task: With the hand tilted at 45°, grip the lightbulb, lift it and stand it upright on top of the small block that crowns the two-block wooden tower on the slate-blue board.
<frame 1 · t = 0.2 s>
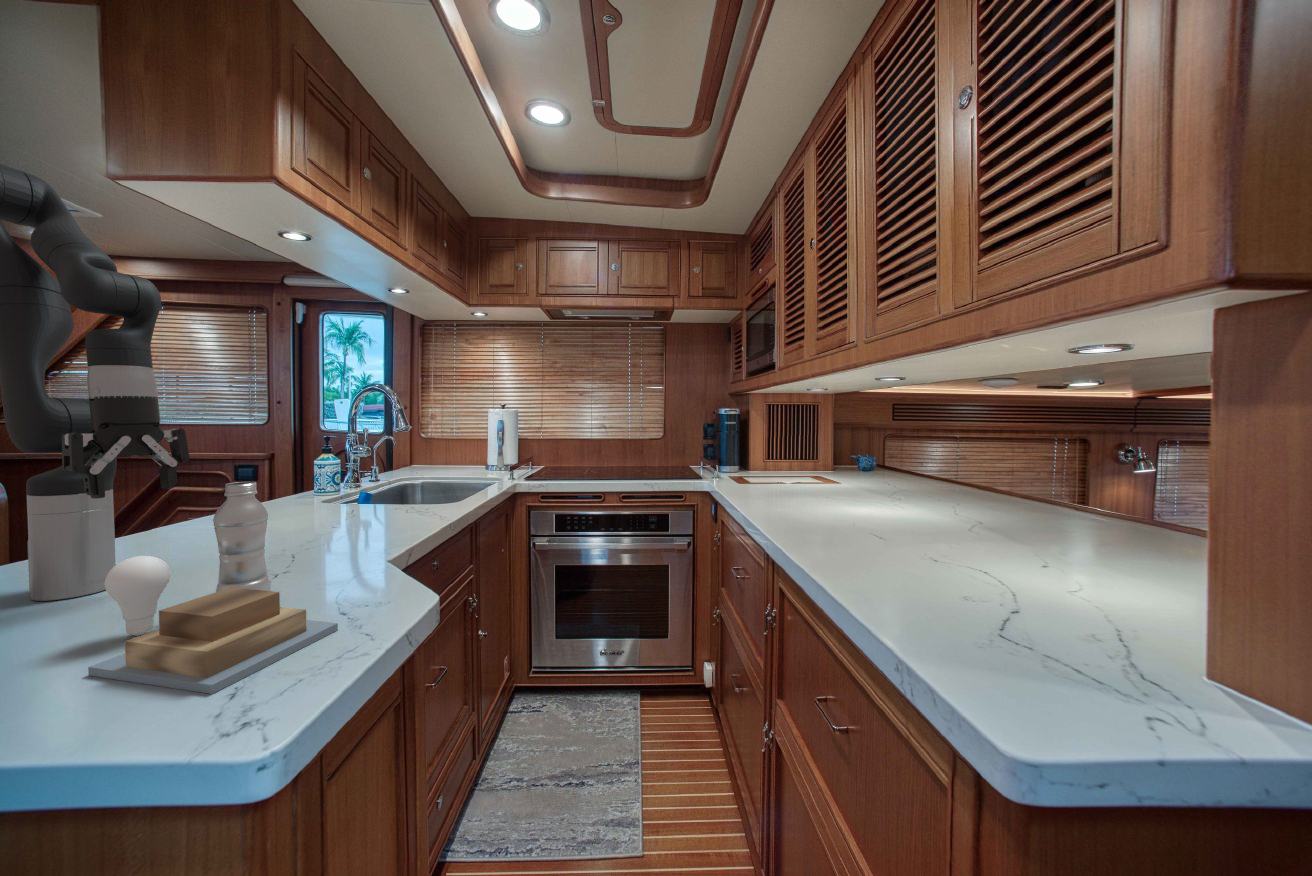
hand: (134, 493, 77), 18 cm above the countertop, tool pointing down, fingers open, 8 cm apart
lightbulb: (140, 636, 65), on the countertop
block tower: (223, 655, 59), resting on slate board
slate board: (225, 650, 61), on the countertop
plastic bottle: (243, 610, 74), on the countertop
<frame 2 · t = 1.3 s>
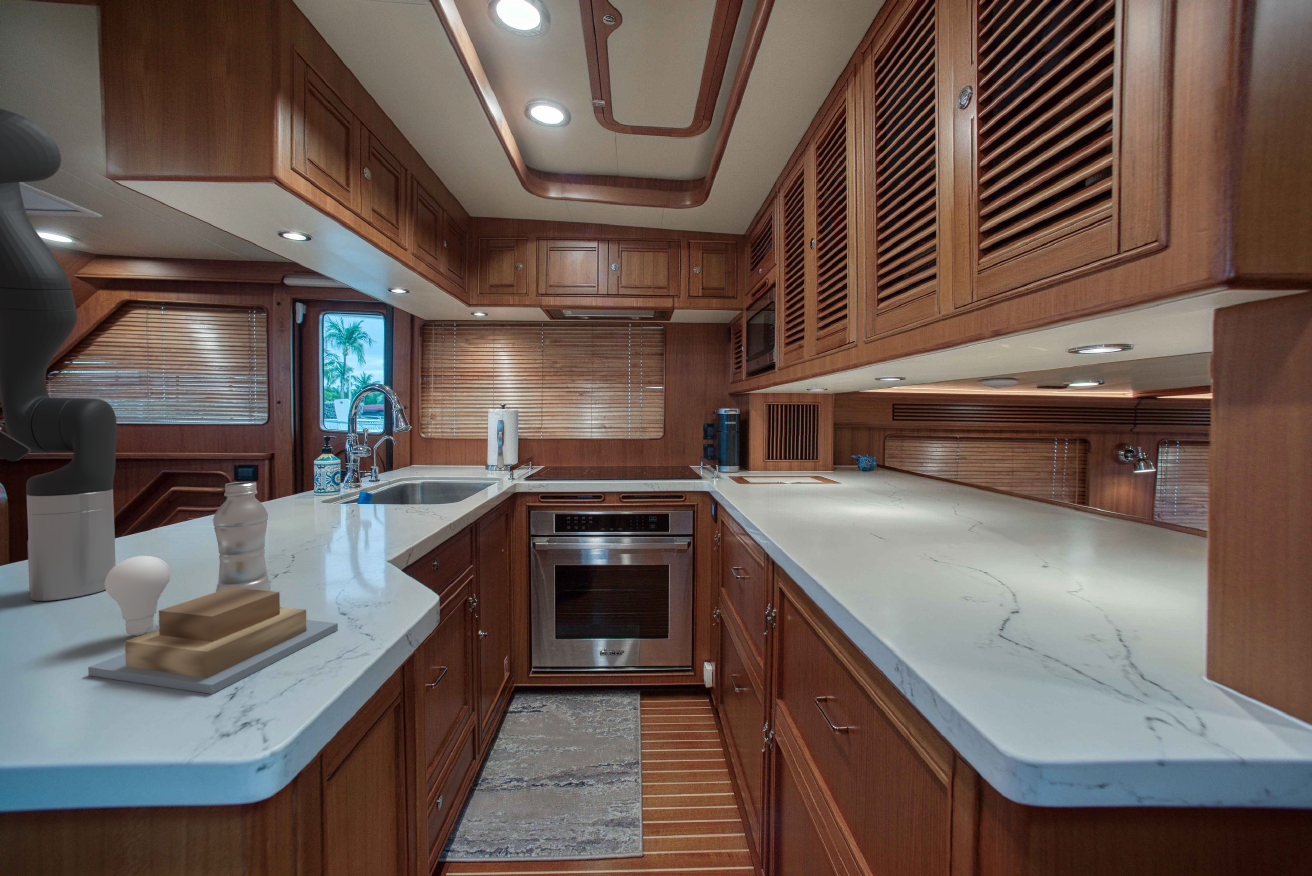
hand: (4, 458, 58), 25 cm above the countertop, tool tilted 45°, fingers open, 8 cm apart
nothing on the countertop moved.
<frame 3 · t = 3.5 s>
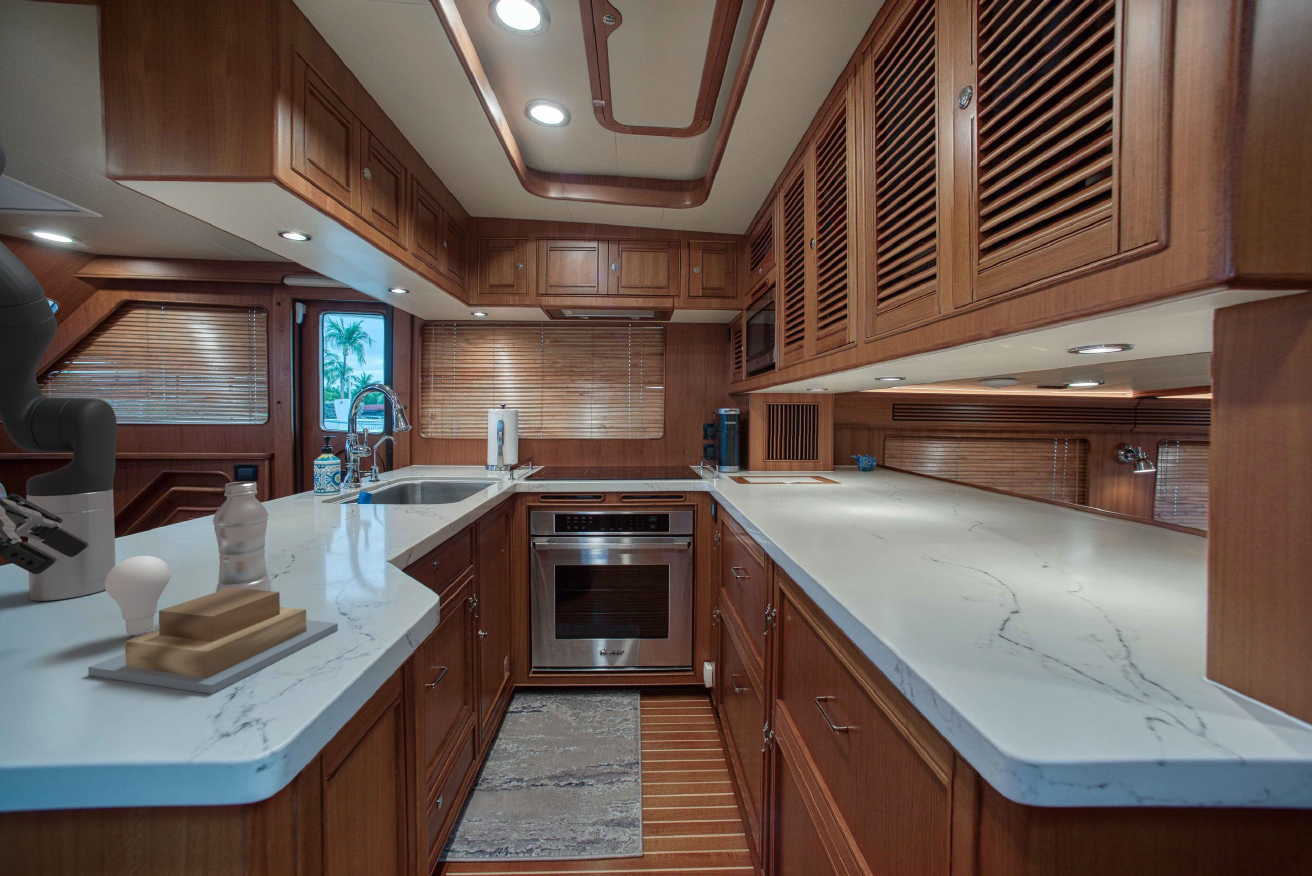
hand: (65, 559, 60), 12 cm above the countertop, tool tilted 45°, fingers open, 8 cm apart
nothing on the countertop moved.
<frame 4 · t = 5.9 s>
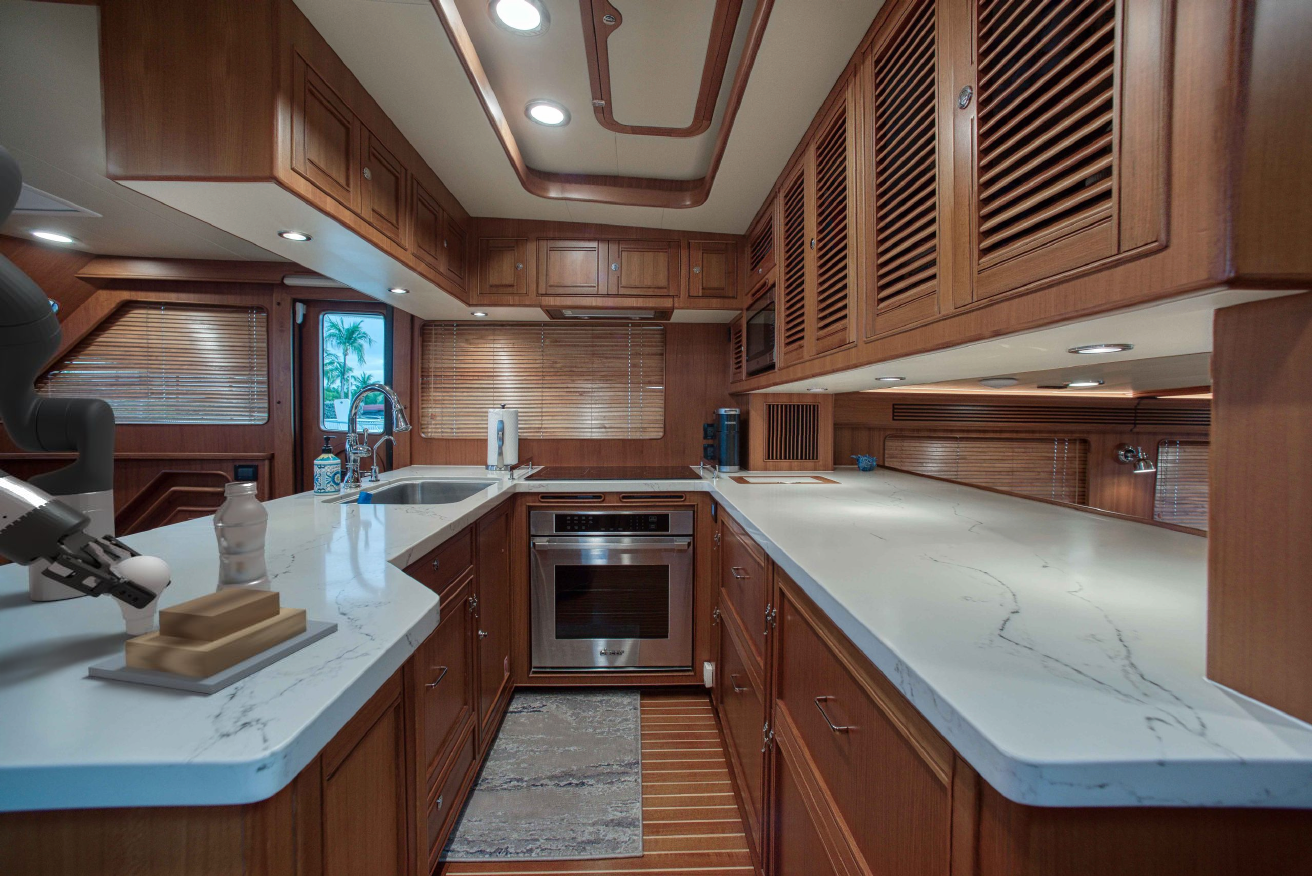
hand: (157, 594, 65), 5 cm above the countertop, tool tilted 45°, fingers closed on lightbulb, 5 cm apart
lightbulb: (140, 636, 65), on the countertop, touching gripper
everything else where it was.
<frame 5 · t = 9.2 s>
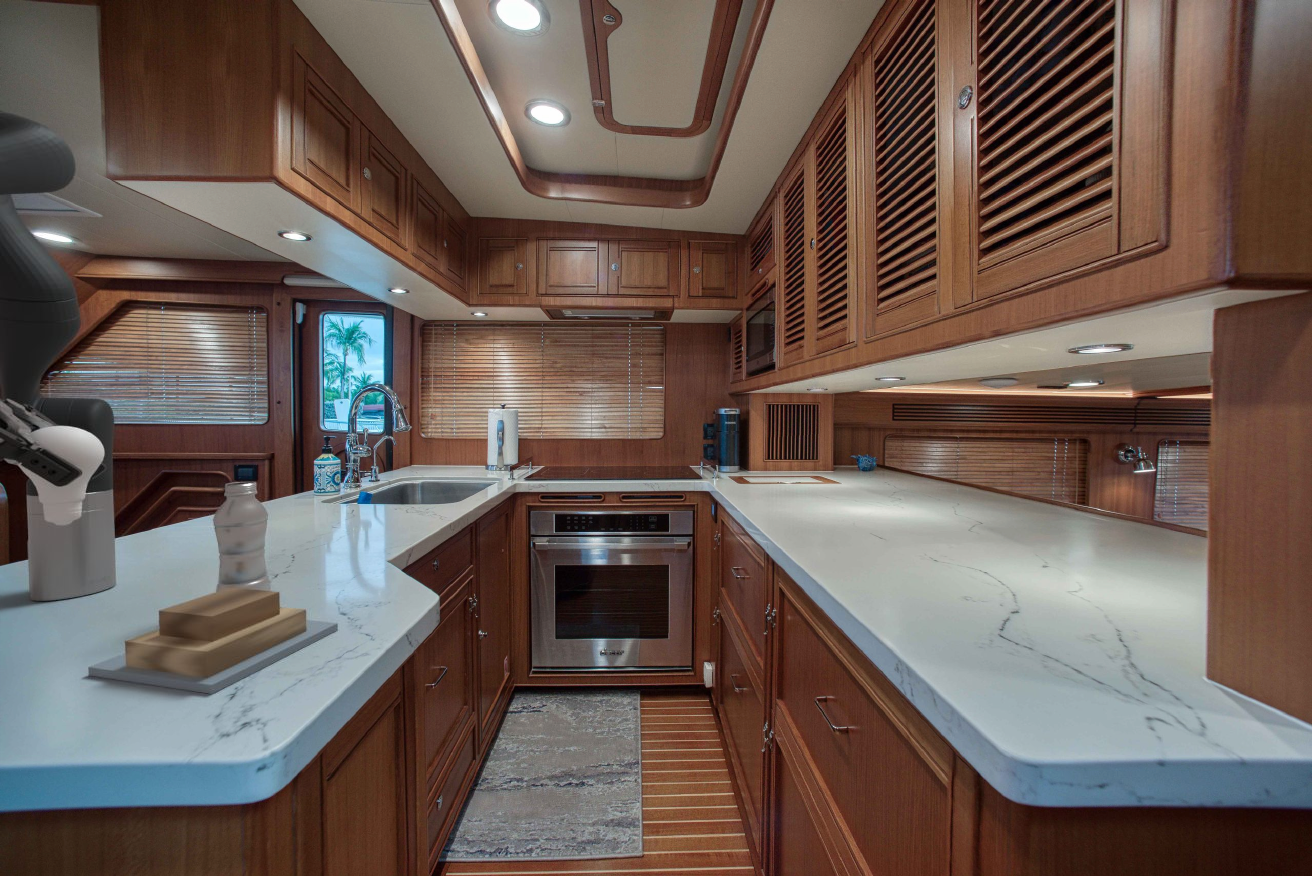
hand: (86, 476, 52), 23 cm above the countertop, tool tilted 45°, fingers closed on lightbulb, 5 cm apart
lightbulb: (63, 526, 52), point 18 cm above the countertop, touching gripper
everything else where it was.
when the fingers open (14 cm above the countertop, at t = 12.6 s): lightbulb drops 1 cm, resting on block tower.
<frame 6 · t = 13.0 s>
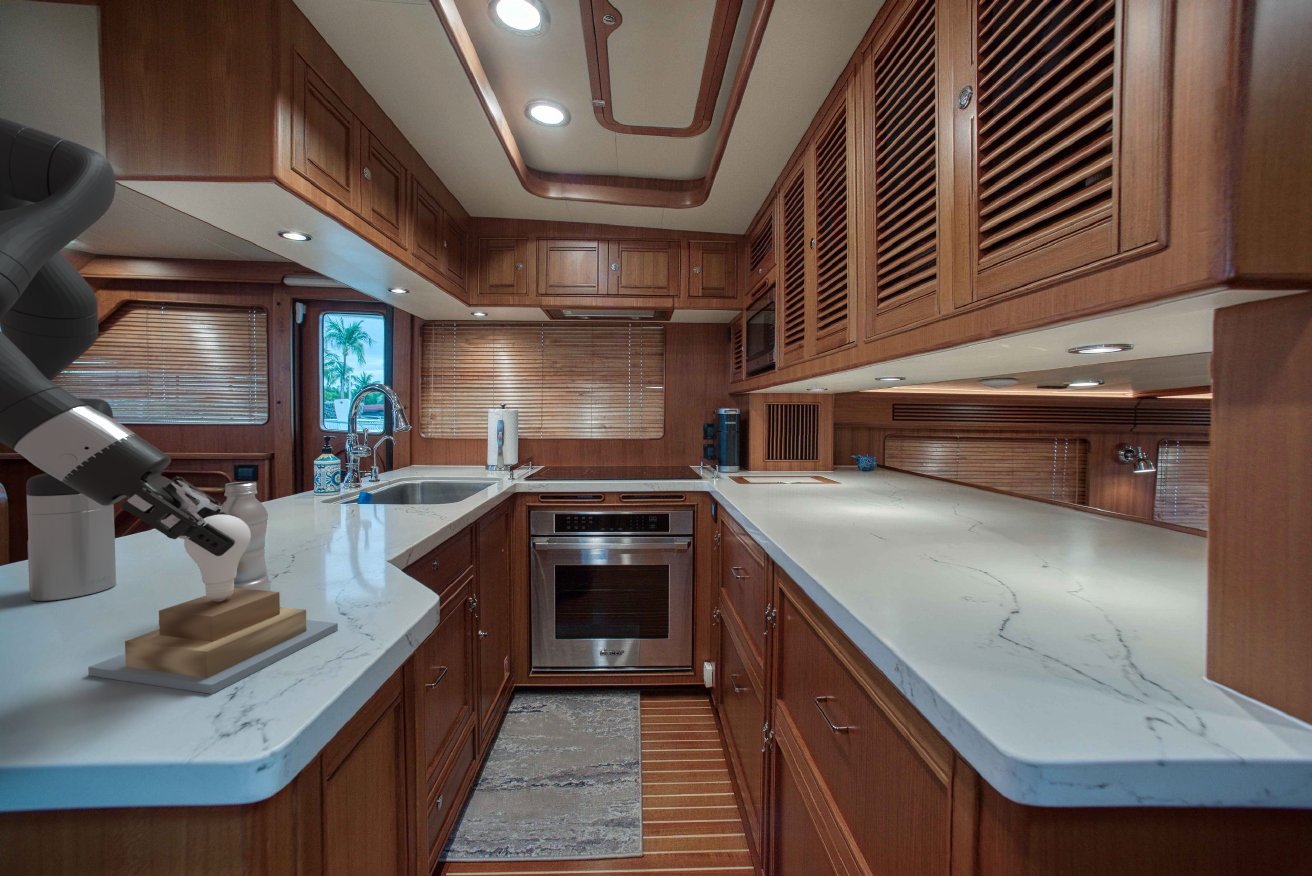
hand: (235, 541, 60), 14 cm above the countertop, tool tilted 45°, fingers open, 8 cm apart
lightbulb: (220, 602, 59), point 7 cm above the countertop, touching block tower
everything else where it was.
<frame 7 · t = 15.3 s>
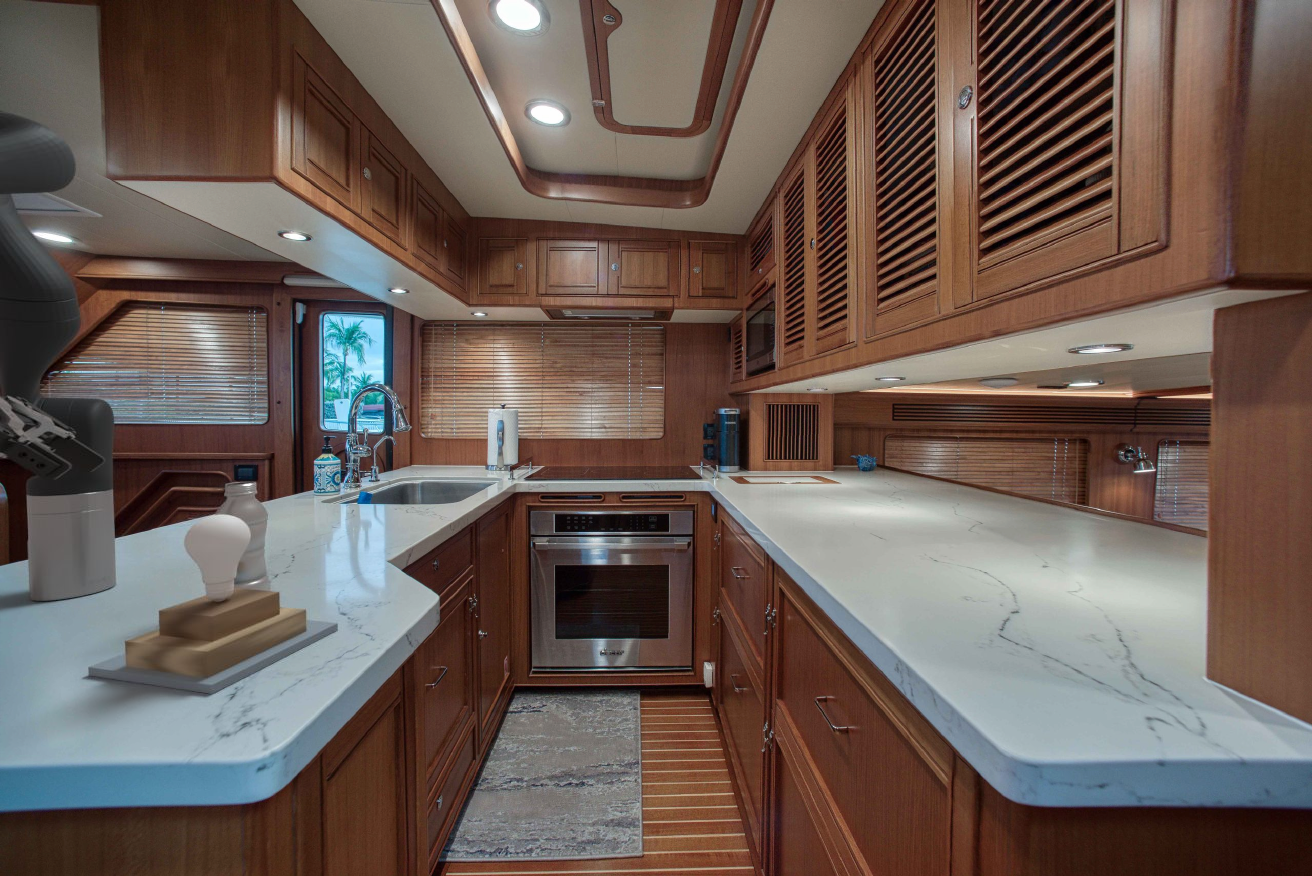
hand: (81, 470, 52), 24 cm above the countertop, tool tilted 45°, fingers open, 8 cm apart
nothing on the countertop moved.
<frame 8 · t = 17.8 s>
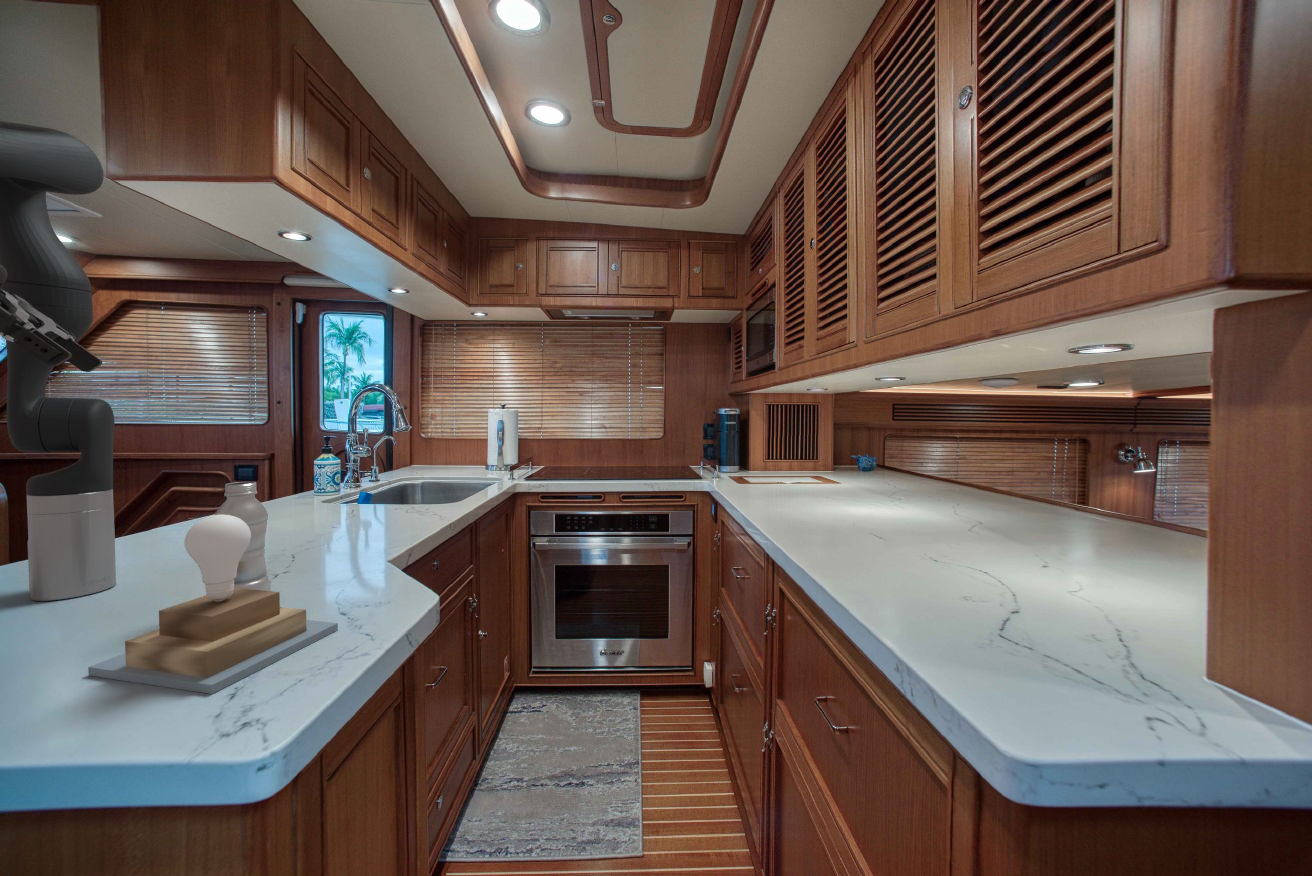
hand: (80, 364, 58), 37 cm above the countertop, tool tilted 45°, fingers open, 8 cm apart
nothing on the countertop moved.
at the end: lightbulb 0.1 cm off-centre on the block tower, point 6.8 cm above the block tower's base; lightbulb tilted 0°; the gripper is holding nothing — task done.
